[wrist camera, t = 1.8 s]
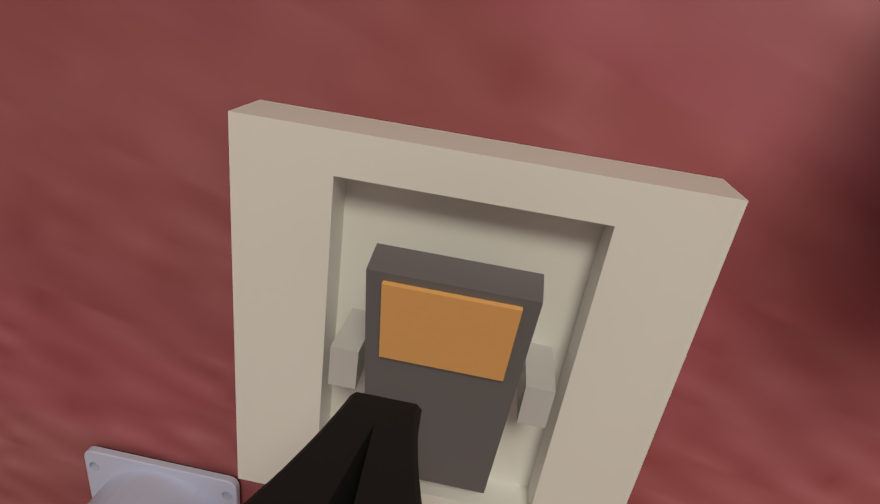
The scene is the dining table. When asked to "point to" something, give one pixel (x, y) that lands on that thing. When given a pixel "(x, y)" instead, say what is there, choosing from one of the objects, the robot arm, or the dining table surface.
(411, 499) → the robot arm
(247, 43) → the dining table surface
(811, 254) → the dining table surface
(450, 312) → the rocker
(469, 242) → the breaker housing
